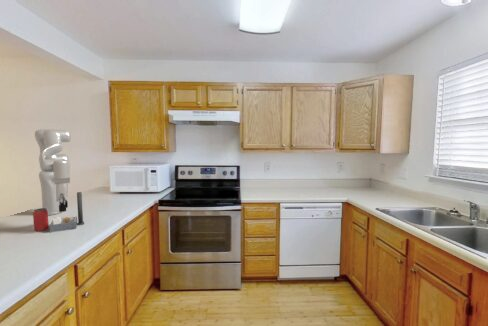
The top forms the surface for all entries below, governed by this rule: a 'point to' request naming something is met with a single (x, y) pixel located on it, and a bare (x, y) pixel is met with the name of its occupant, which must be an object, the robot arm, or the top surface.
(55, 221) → the white block
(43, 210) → the beer can
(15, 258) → the top surface
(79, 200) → the post
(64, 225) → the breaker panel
